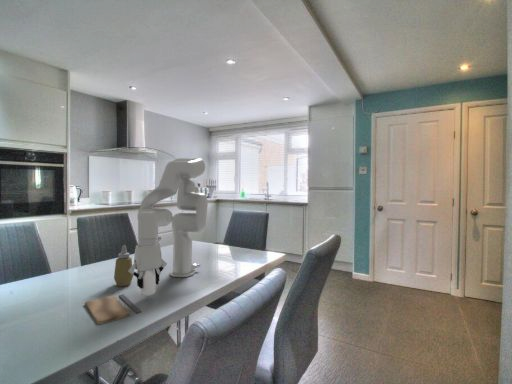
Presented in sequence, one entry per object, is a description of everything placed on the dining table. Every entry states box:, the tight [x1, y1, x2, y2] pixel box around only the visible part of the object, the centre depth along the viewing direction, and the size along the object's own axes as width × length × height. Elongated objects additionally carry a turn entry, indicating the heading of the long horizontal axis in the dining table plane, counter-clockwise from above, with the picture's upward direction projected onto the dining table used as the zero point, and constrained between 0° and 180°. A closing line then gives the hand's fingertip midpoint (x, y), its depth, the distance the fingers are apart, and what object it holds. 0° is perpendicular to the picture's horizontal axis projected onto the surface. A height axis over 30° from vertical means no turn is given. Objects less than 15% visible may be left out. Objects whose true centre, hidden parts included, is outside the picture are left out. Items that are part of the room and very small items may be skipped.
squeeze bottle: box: [113, 245, 134, 287], centre depth 128 cm, size 8×8×18 cm
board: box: [84, 295, 131, 325], centre depth 103 cm, size 10×20×1 cm, turn 42°
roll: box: [141, 269, 157, 296], centre depth 113 cm, size 6×12×6 cm
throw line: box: [118, 294, 142, 314], centre depth 108 cm, size 2×20×1 cm, turn 42°
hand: (148, 285), depth 114 cm, fingers closed on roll, 5 cm apart
